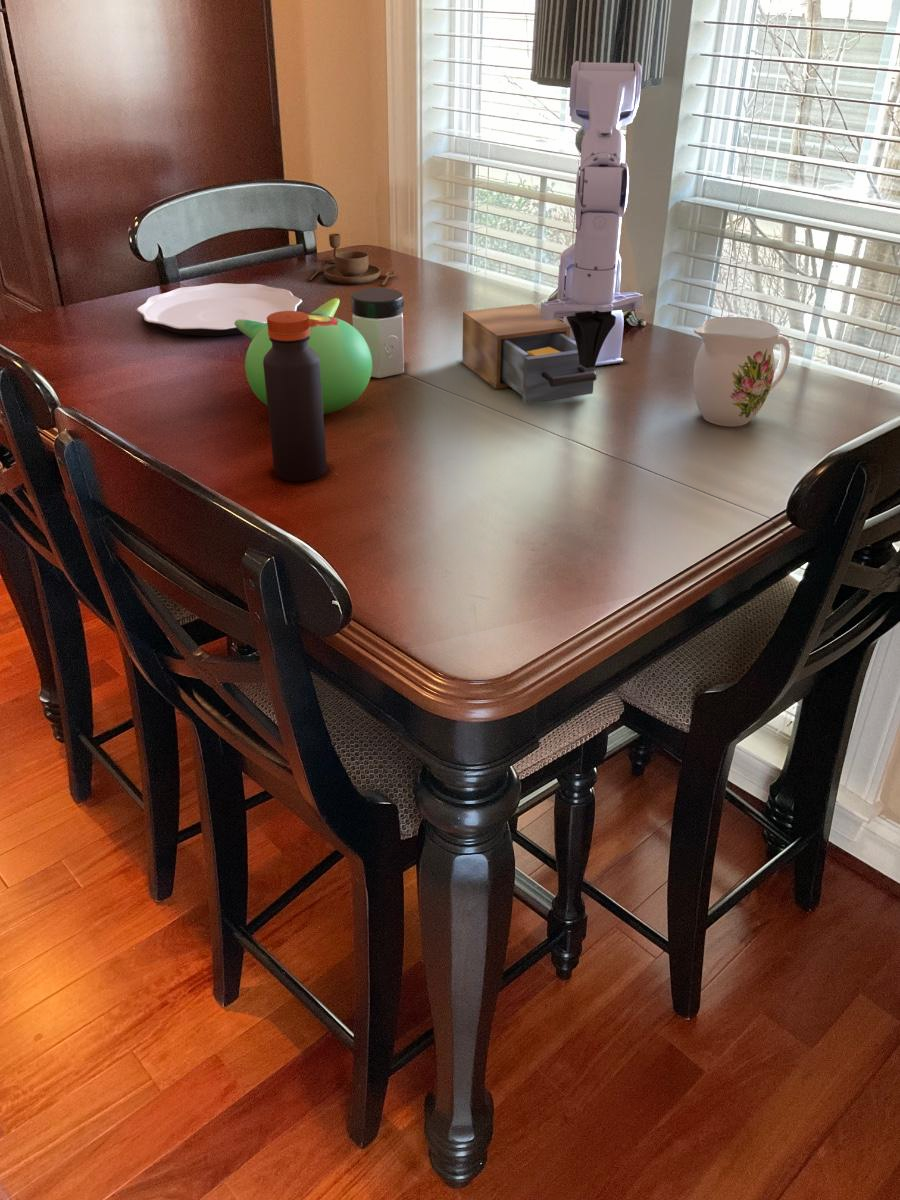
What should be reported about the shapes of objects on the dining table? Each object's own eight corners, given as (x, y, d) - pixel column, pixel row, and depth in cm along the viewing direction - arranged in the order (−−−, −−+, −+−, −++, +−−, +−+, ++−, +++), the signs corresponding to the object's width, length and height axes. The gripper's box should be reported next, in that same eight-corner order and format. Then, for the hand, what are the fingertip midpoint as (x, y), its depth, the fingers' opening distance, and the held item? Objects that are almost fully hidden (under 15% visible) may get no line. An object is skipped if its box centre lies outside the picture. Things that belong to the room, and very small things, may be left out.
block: (565, 382, 148) (567, 354, 146) (542, 388, 146) (543, 359, 144) (547, 374, 151) (549, 346, 149) (524, 379, 149) (526, 351, 147)
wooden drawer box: (566, 378, 155) (570, 326, 151) (495, 389, 151) (497, 335, 147) (529, 353, 166) (531, 303, 161) (462, 362, 162) (462, 311, 157)
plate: (333, 310, 186) (332, 298, 185) (225, 352, 165) (223, 338, 164) (219, 287, 199) (218, 275, 198) (106, 323, 178) (103, 310, 177)
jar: (367, 382, 154) (364, 305, 147) (343, 367, 159) (339, 292, 153) (416, 371, 158) (415, 296, 151) (390, 357, 164) (388, 284, 157)
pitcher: (804, 418, 142) (824, 324, 134) (707, 441, 135) (723, 342, 127) (752, 394, 150) (768, 304, 143) (658, 414, 143) (670, 320, 135)
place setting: (303, 283, 202) (301, 254, 199) (329, 260, 219) (327, 232, 216) (386, 287, 200) (385, 258, 197) (405, 264, 216) (405, 236, 213)
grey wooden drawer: (606, 403, 144) (610, 358, 141) (538, 413, 141) (541, 368, 137) (554, 367, 157) (557, 326, 153) (491, 376, 153) (492, 334, 150)
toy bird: (266, 440, 134) (255, 334, 126) (237, 399, 147) (226, 301, 139) (389, 421, 140) (385, 318, 132) (351, 383, 153) (346, 288, 145)
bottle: (264, 478, 124) (247, 321, 113) (290, 457, 130) (276, 305, 119) (312, 486, 122) (299, 328, 111) (336, 465, 127) (326, 311, 117)
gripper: (560, 277, 123) (554, 381, 131) (658, 267, 128) (647, 367, 135) (535, 264, 129) (530, 364, 136) (630, 255, 134) (620, 352, 141)
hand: (587, 365), depth 136 cm, fingers closed
